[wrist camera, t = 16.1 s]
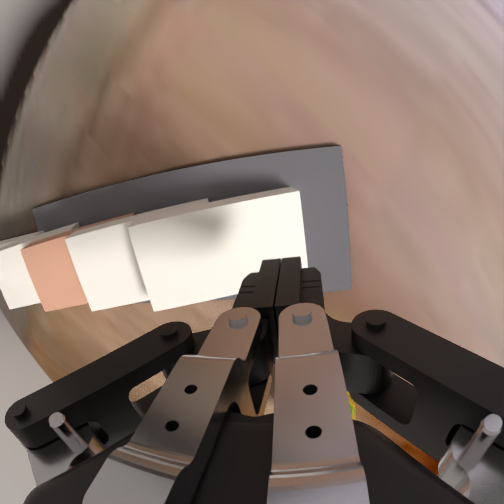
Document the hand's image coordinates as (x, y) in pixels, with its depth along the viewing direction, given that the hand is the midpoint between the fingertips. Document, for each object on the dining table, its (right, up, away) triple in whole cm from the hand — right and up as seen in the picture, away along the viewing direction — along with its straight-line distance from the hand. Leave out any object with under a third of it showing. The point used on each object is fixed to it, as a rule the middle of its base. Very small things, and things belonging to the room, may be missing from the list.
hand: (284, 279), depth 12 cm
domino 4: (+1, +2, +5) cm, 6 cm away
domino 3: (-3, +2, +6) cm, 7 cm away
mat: (-7, +2, +8) cm, 11 cm away
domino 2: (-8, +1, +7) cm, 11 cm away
